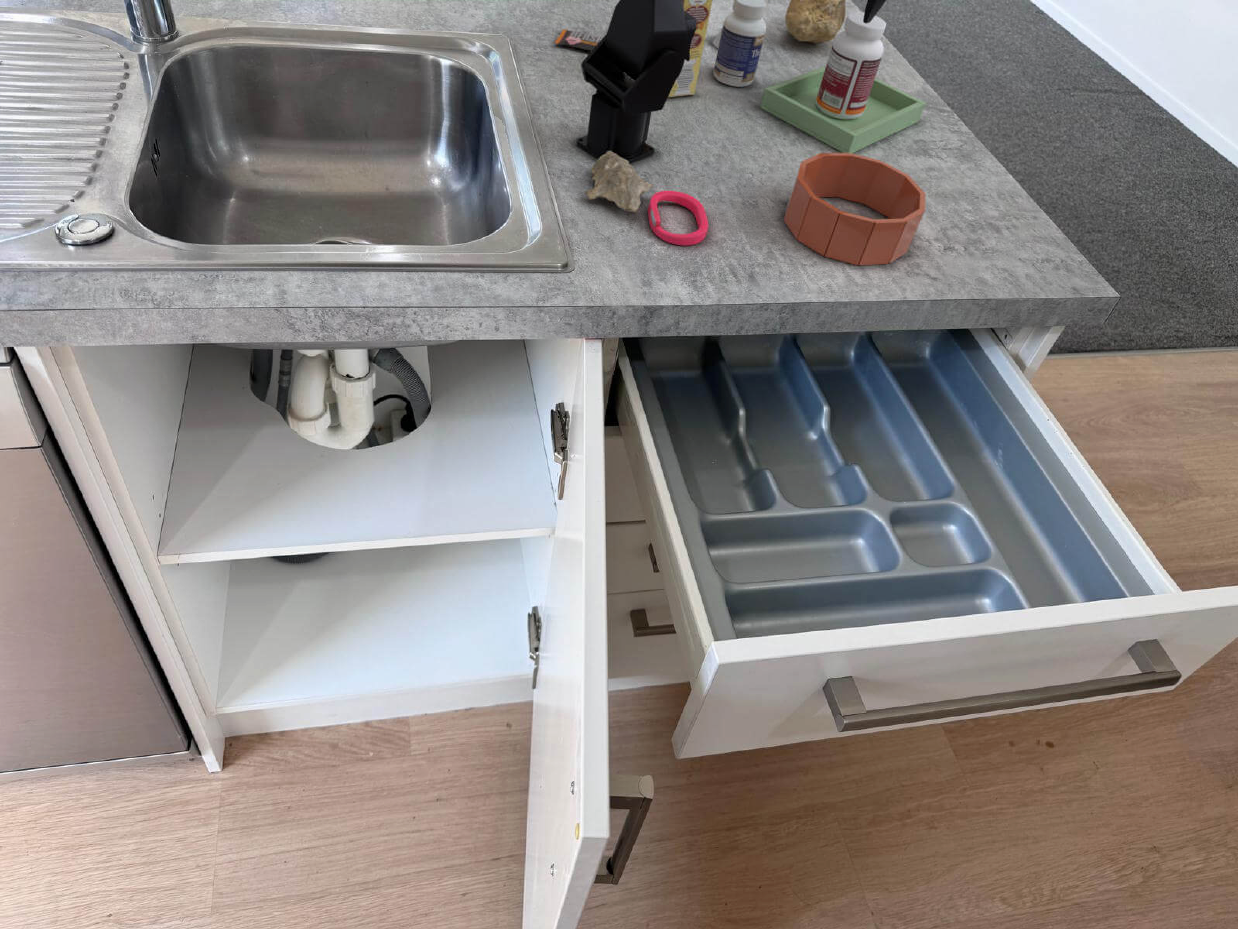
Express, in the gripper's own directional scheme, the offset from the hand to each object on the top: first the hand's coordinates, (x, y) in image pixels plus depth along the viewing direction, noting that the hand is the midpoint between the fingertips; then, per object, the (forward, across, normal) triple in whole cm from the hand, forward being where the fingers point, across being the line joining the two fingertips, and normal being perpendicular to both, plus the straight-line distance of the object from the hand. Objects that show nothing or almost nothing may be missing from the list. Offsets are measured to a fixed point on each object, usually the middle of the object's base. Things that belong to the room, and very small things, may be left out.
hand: (834, 7), depth 102 cm
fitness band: (+12, -8, +33) cm, 36 cm away
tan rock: (+12, +14, -20) cm, 27 cm away
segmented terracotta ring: (+13, -19, +18) cm, 29 cm away
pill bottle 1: (+13, +11, +1) cm, 17 cm away
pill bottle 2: (+12, -3, -4) cm, 13 cm away
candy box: (+13, +15, +10) cm, 22 cm away
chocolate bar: (+13, +26, +11) cm, 31 cm away
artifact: (+12, -6, +37) cm, 40 cm away
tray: (+12, -3, -4) cm, 14 cm away
